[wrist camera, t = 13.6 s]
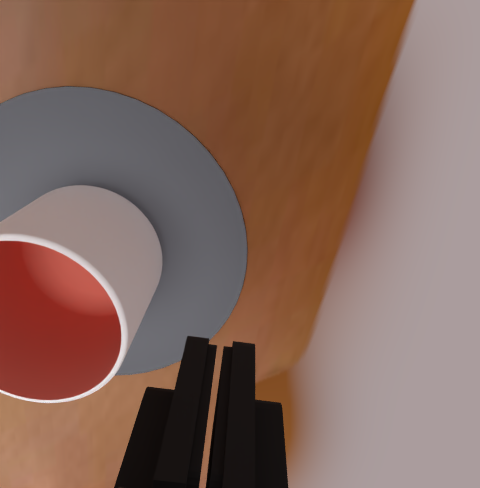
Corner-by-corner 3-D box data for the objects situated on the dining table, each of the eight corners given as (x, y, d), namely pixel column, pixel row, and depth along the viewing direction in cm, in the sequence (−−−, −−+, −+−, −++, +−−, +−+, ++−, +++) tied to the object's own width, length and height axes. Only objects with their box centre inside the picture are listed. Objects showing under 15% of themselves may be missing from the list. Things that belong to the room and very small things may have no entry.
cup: (38, 159, 30) (-63, 205, 20) (183, 208, 30) (149, 274, 21) (16, 285, 33) (-77, 372, 24) (146, 326, 34) (103, 425, 25)
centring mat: (-40, 356, 36) (-41, 357, 36) (-85, 66, 28) (-87, 66, 28) (230, 389, 36) (230, 390, 36) (266, 108, 28) (266, 109, 28)
